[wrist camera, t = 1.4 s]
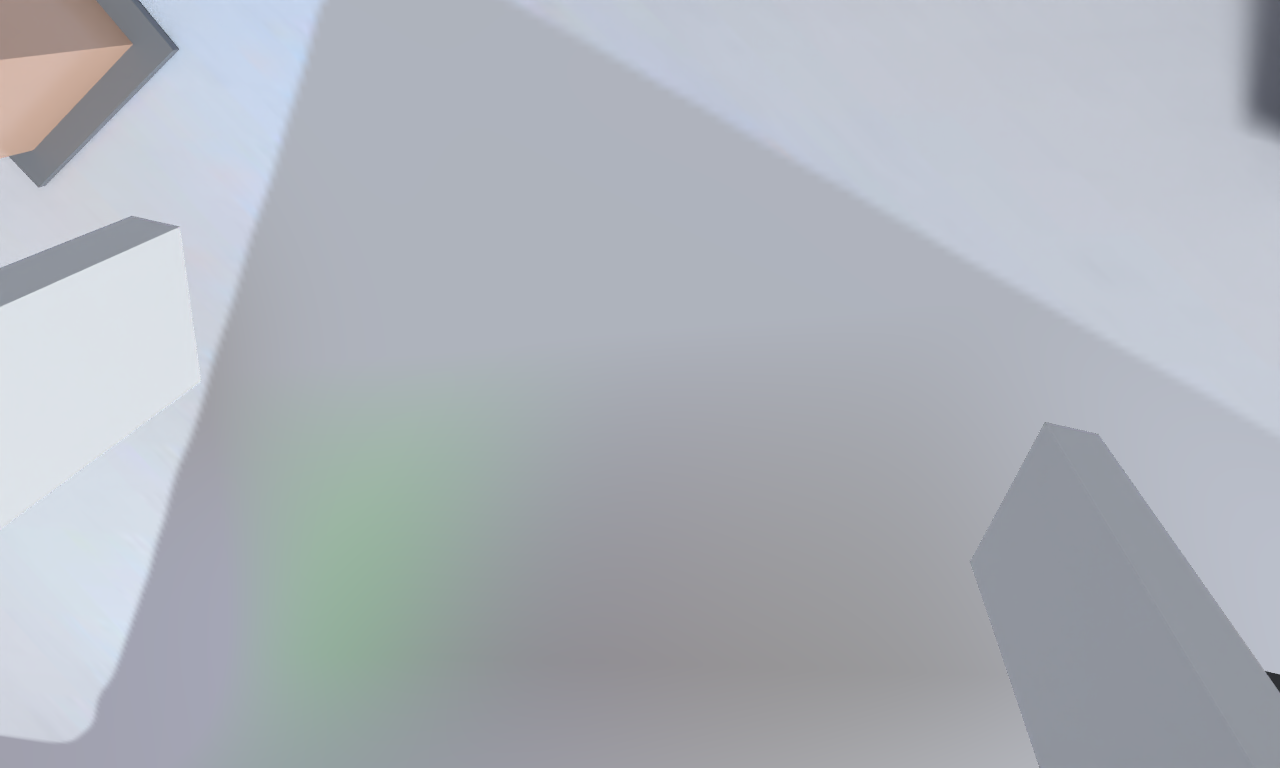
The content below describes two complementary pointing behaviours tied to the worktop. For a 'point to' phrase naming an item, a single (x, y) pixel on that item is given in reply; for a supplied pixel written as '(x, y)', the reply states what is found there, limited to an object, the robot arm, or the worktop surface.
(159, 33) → the mat
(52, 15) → the tile
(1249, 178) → the worktop surface
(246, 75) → the worktop surface
